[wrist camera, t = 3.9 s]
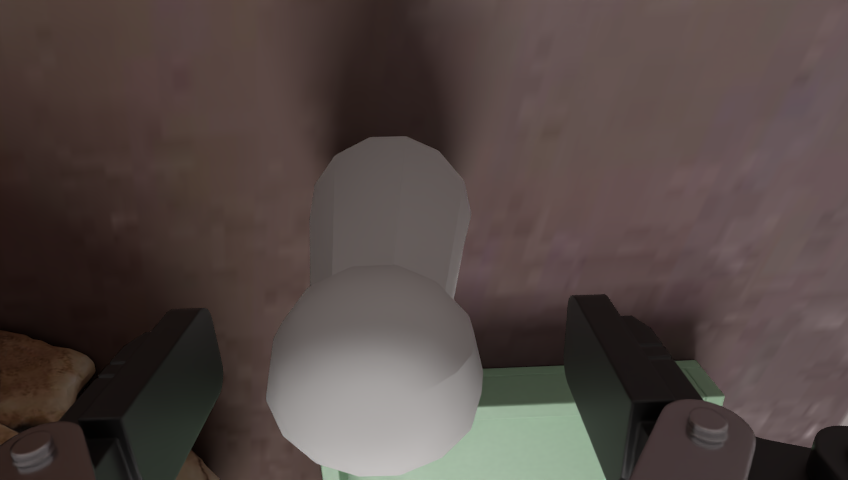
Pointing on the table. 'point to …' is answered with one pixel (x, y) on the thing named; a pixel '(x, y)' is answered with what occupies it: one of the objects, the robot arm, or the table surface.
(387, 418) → the salt shaker
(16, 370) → the coin bank
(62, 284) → the table surface
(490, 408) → the tray
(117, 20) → the table surface
